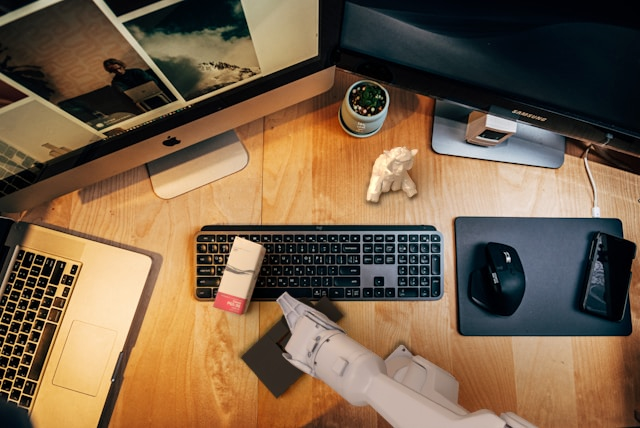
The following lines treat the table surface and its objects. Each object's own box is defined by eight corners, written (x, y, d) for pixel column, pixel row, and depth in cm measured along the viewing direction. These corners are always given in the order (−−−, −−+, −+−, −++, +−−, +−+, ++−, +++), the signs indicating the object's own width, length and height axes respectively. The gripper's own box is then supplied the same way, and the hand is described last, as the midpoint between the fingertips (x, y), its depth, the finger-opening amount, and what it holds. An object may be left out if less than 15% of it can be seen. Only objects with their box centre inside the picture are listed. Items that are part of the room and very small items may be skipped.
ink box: (240, 316, 69) (263, 244, 71) (210, 307, 69) (234, 235, 71) (247, 312, 77) (267, 248, 79) (220, 304, 77) (241, 240, 79)
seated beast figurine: (366, 204, 81) (376, 191, 69) (358, 160, 82) (367, 139, 70) (416, 197, 81) (434, 182, 70) (407, 153, 83) (424, 130, 71)
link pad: (342, 314, 78) (343, 315, 75) (296, 358, 76) (296, 361, 73) (324, 295, 78) (325, 295, 75) (278, 338, 77) (277, 341, 74)
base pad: (316, 357, 76) (316, 360, 73) (277, 394, 75) (276, 399, 72) (281, 318, 77) (280, 319, 74) (243, 354, 76) (240, 357, 73)
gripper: (258, 316, 63) (266, 310, 76) (327, 394, 61) (323, 374, 75) (294, 282, 63) (296, 282, 77) (363, 358, 62) (353, 345, 75)
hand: (311, 326), depth 76 cm, fingers closed on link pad, 4 cm apart
